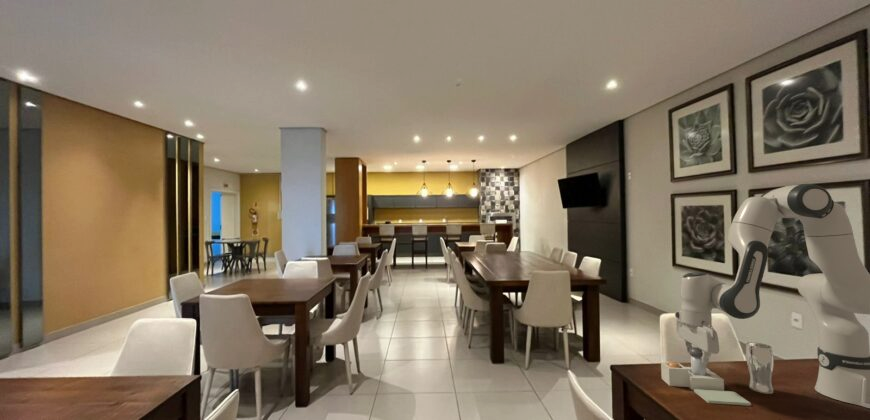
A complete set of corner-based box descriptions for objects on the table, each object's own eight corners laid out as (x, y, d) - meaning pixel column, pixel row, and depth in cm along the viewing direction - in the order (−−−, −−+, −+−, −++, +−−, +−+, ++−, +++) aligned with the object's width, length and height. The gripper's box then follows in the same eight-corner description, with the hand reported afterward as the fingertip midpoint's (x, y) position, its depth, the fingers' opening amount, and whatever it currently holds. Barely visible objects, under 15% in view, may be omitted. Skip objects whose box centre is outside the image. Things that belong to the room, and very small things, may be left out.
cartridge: (703, 381, 128) (701, 347, 129) (711, 387, 123) (710, 352, 124) (687, 380, 129) (686, 346, 130) (695, 386, 124) (694, 351, 125)
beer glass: (780, 395, 117) (778, 349, 118) (756, 393, 119) (753, 347, 119) (765, 386, 124) (763, 342, 125) (742, 384, 125) (740, 341, 126)
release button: (677, 373, 129) (676, 362, 129) (681, 376, 126) (681, 365, 126) (667, 372, 129) (666, 361, 130) (671, 376, 126) (671, 364, 126)
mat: (733, 393, 119) (733, 391, 119) (751, 405, 111) (750, 403, 111) (694, 391, 121) (694, 389, 121) (708, 403, 113) (708, 400, 113)
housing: (706, 379, 130) (705, 362, 131) (724, 391, 120) (723, 373, 121) (659, 376, 133) (658, 360, 133) (672, 388, 123) (671, 370, 123)
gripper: (724, 326, 117) (725, 369, 116) (690, 312, 137) (691, 348, 136) (703, 325, 118) (704, 368, 117) (672, 311, 138) (673, 347, 137)
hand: (697, 357), depth 127 cm, fingers open, 8 cm apart
